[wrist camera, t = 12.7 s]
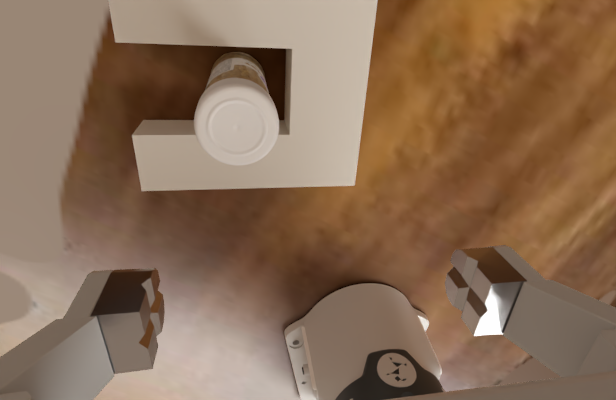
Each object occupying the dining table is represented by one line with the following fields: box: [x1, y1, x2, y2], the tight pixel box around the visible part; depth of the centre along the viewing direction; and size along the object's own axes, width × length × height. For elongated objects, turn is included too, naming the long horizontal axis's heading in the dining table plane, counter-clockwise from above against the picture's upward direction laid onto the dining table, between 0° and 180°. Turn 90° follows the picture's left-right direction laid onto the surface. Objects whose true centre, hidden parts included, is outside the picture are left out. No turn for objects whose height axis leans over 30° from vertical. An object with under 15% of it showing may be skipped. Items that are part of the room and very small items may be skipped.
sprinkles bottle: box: [194, 52, 279, 166], centre depth 26 cm, size 5×5×14 cm
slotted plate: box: [108, 0, 378, 191], centre depth 30 cm, size 16×18×4 cm
